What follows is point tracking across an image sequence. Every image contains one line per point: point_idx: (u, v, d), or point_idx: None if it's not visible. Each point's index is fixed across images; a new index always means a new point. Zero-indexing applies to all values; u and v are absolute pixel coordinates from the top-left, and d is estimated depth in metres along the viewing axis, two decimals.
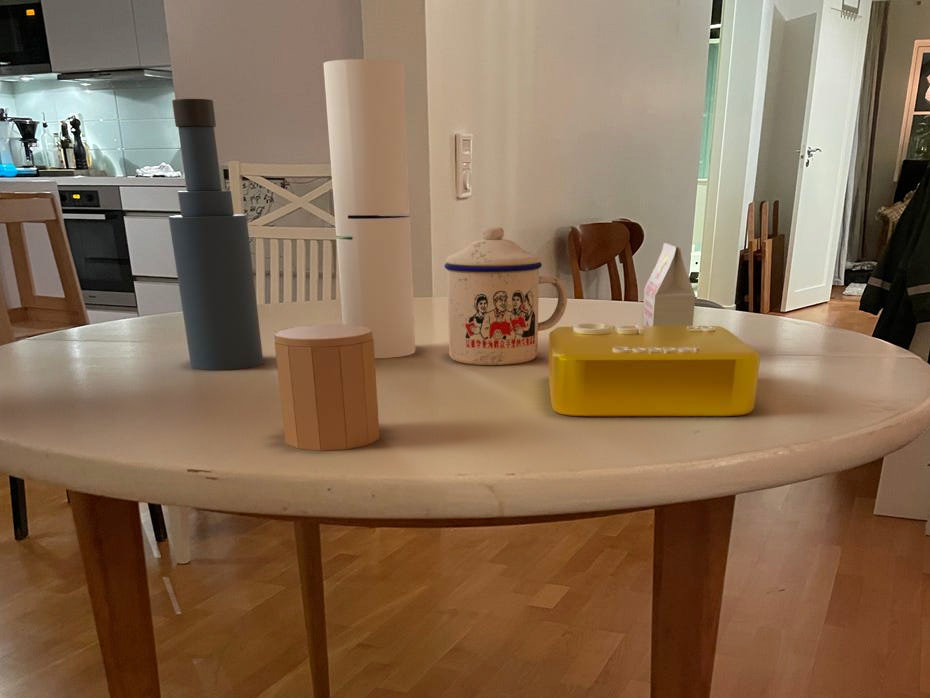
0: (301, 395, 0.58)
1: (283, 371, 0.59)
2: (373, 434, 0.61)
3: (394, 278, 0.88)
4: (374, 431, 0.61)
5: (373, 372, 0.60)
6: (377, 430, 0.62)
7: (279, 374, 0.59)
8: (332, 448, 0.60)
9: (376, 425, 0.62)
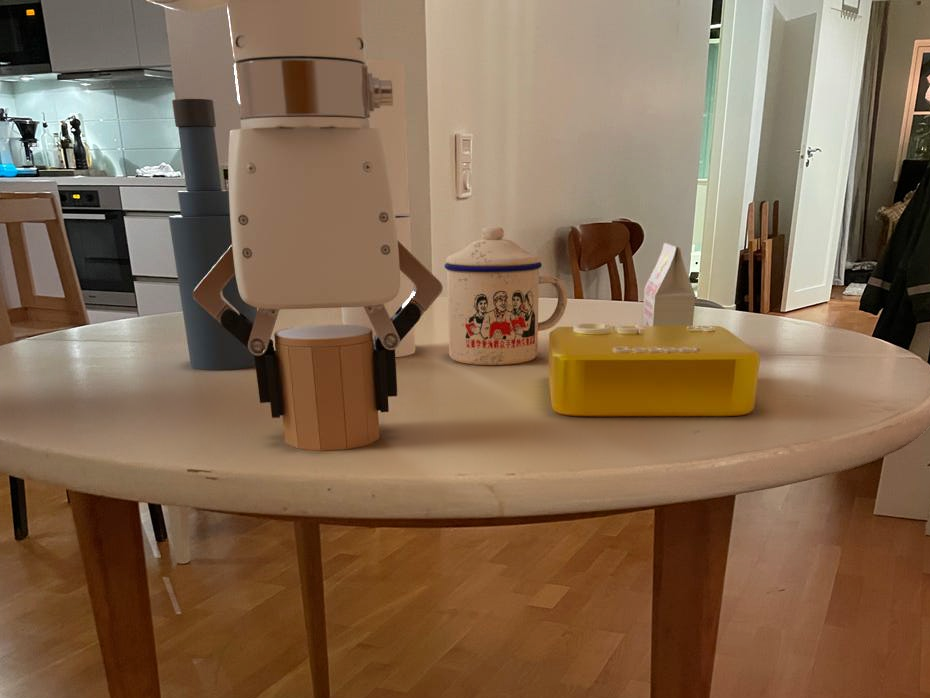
0: (301, 395, 0.58)
1: (283, 371, 0.59)
2: (373, 434, 0.61)
3: None
4: (374, 431, 0.61)
5: (373, 372, 0.60)
6: (377, 430, 0.62)
7: (279, 374, 0.59)
8: (332, 448, 0.60)
9: (376, 425, 0.62)
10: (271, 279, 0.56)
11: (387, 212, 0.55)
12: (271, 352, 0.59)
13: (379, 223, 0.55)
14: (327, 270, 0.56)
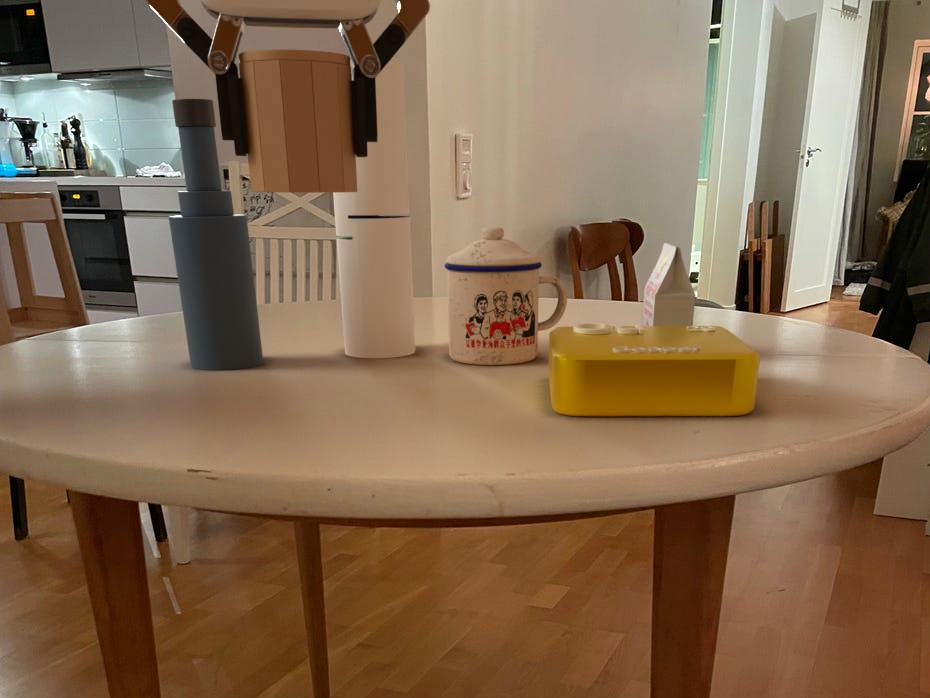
0: (268, 122, 0.52)
1: (248, 96, 0.52)
2: (350, 182, 0.55)
3: (394, 278, 0.88)
4: (351, 179, 0.55)
5: (350, 106, 0.53)
6: (354, 180, 0.55)
7: (244, 102, 0.52)
8: (303, 190, 0.53)
9: (353, 173, 0.55)
10: None
11: None
12: (235, 74, 0.52)
13: None
14: None
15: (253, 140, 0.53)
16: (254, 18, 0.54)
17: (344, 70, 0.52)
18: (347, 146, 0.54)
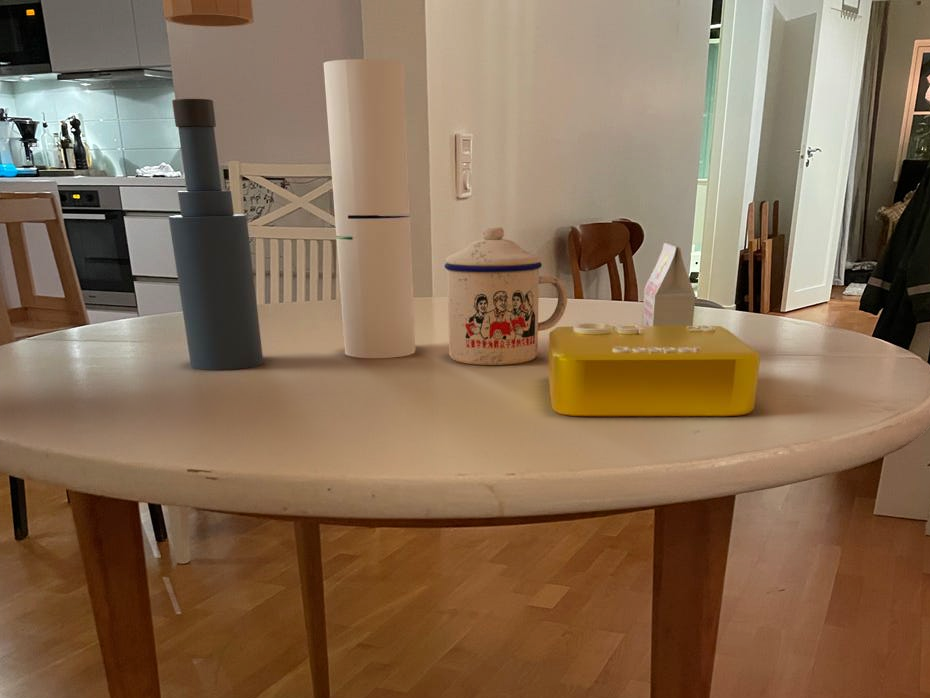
0: None
1: None
2: (244, 9, 0.67)
3: (394, 278, 0.88)
4: (245, 7, 0.67)
5: None
6: (249, 8, 0.67)
7: None
8: (203, 11, 0.65)
9: (248, 2, 0.67)
10: None
11: None
12: None
13: None
14: None
15: None
16: None
17: None
18: None
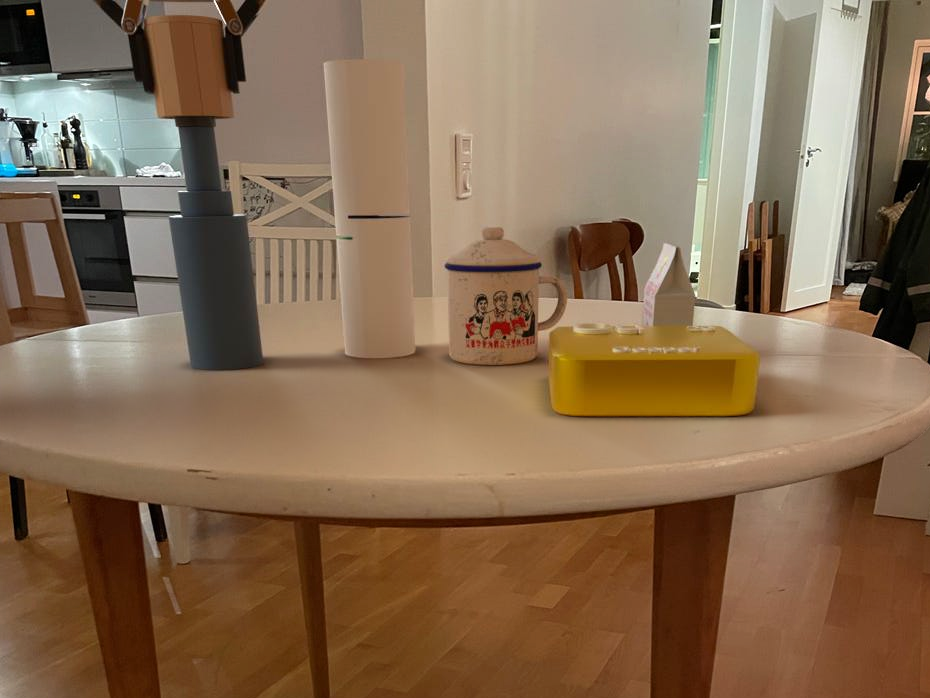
0: (164, 66, 0.75)
1: (150, 49, 0.75)
2: (226, 109, 0.78)
3: (394, 278, 0.88)
4: (227, 107, 0.78)
5: (223, 55, 0.77)
6: (230, 108, 0.79)
7: (148, 53, 0.76)
8: (191, 113, 0.76)
9: (229, 103, 0.78)
10: None
11: None
12: (141, 34, 0.75)
13: None
14: None
15: (156, 80, 0.76)
16: None
17: (216, 29, 0.75)
18: (222, 83, 0.77)
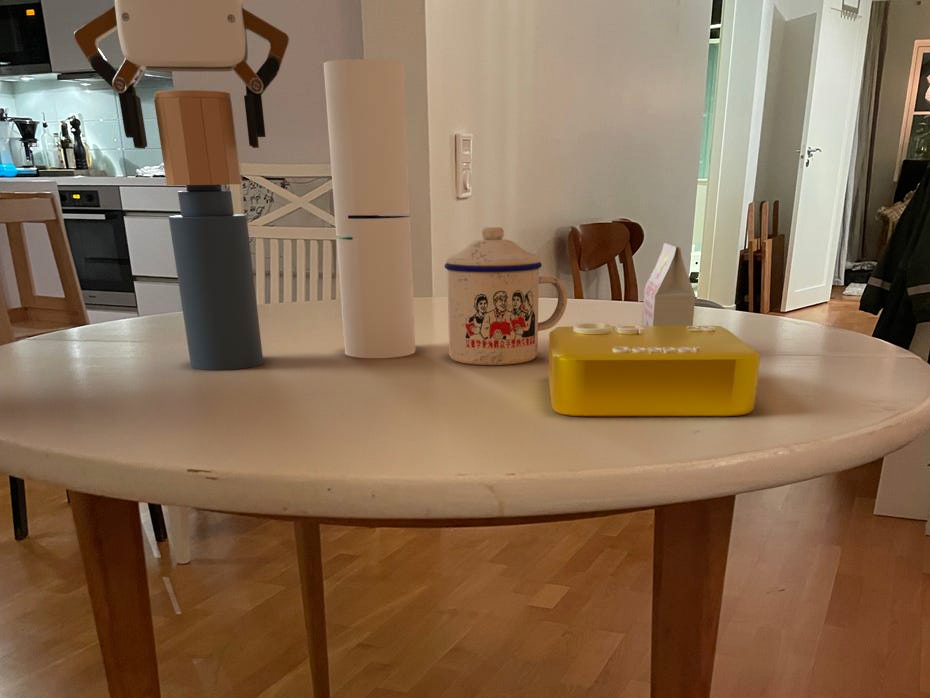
0: (174, 138, 0.77)
1: (160, 121, 0.78)
2: (233, 177, 0.80)
3: (394, 278, 0.88)
4: (234, 175, 0.80)
5: (231, 126, 0.79)
6: (237, 176, 0.81)
7: (158, 125, 0.78)
8: (199, 183, 0.79)
9: (236, 171, 0.81)
10: (145, 39, 0.75)
11: None
12: (131, 92, 0.77)
13: None
14: (187, 33, 0.75)
15: (165, 150, 0.79)
16: None
17: (224, 102, 0.78)
18: (230, 153, 0.79)
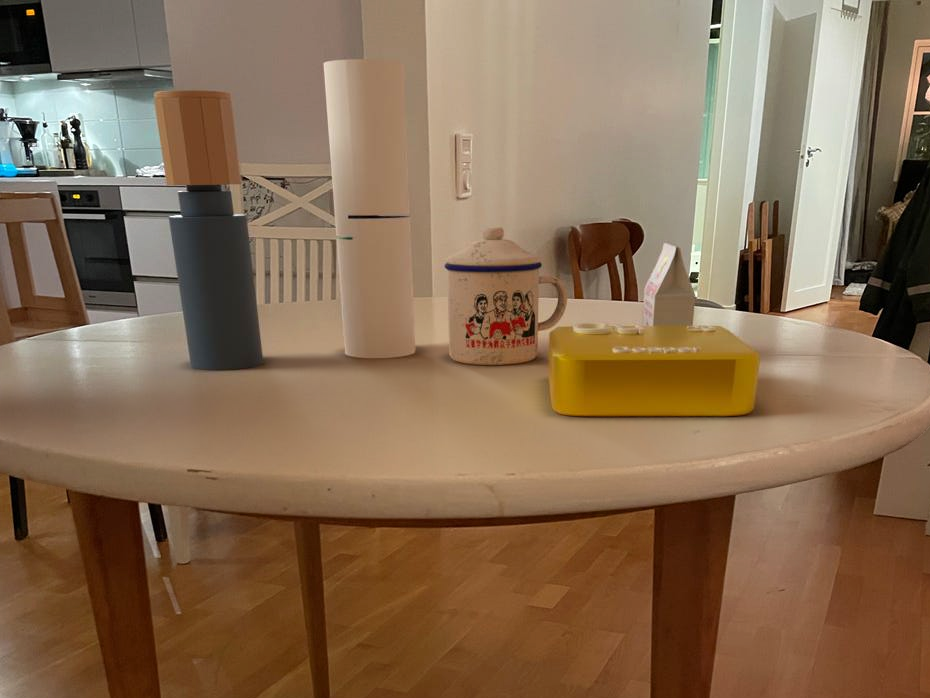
0: (174, 138, 0.77)
1: (160, 121, 0.78)
2: (233, 177, 0.80)
3: (394, 278, 0.88)
4: (234, 175, 0.80)
5: (231, 126, 0.79)
6: (237, 176, 0.81)
7: (158, 125, 0.78)
8: (199, 183, 0.79)
9: (236, 171, 0.81)
10: None
11: None
12: None
13: None
14: None
15: (165, 150, 0.79)
16: None
17: (224, 102, 0.78)
18: (230, 153, 0.79)
